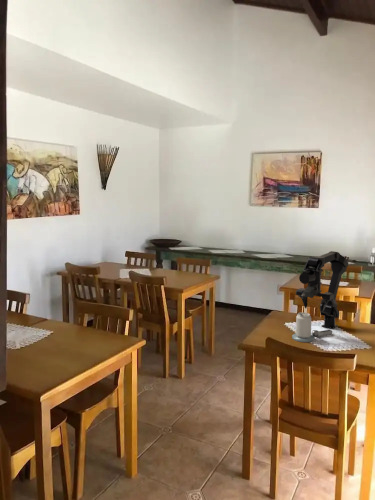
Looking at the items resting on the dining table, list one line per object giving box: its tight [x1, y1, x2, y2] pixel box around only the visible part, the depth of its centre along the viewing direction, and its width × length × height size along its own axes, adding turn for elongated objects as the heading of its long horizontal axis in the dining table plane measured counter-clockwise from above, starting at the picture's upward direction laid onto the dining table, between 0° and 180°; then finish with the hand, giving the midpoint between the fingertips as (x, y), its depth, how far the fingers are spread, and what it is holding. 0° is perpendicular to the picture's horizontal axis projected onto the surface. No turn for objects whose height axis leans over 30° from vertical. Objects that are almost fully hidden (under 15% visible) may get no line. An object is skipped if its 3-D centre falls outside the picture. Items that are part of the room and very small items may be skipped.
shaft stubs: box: [311, 329, 333, 338], centre depth 218 cm, size 10×19×3 cm, turn 48°
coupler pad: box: [291, 332, 315, 343], centre depth 211 cm, size 11×11×1 cm
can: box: [295, 312, 312, 338], centre depth 210 cm, size 8×8×12 cm
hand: (314, 309), depth 216 cm, fingers open, 9 cm apart
